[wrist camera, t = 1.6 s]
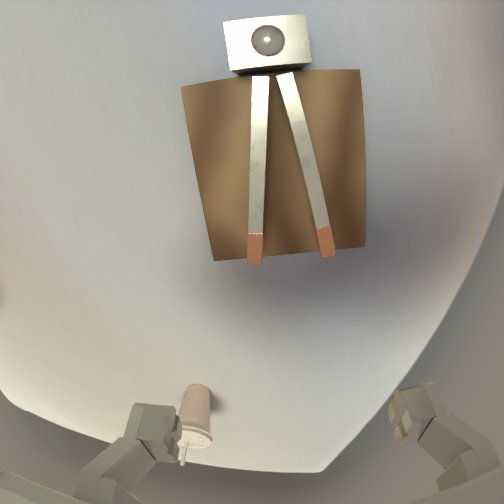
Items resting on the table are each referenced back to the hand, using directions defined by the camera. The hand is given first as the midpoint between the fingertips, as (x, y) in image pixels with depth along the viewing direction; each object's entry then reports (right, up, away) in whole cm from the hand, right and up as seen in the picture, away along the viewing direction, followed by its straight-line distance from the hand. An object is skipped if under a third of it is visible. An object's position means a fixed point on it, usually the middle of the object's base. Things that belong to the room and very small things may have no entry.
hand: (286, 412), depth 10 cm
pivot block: (0, +24, +14) cm, 28 cm away
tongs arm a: (+4, +14, +17) cm, 23 cm away
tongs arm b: (-1, +14, +18) cm, 23 cm away
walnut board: (+2, +14, +20) cm, 24 cm away
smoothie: (-10, -17, +38) cm, 42 cm away
